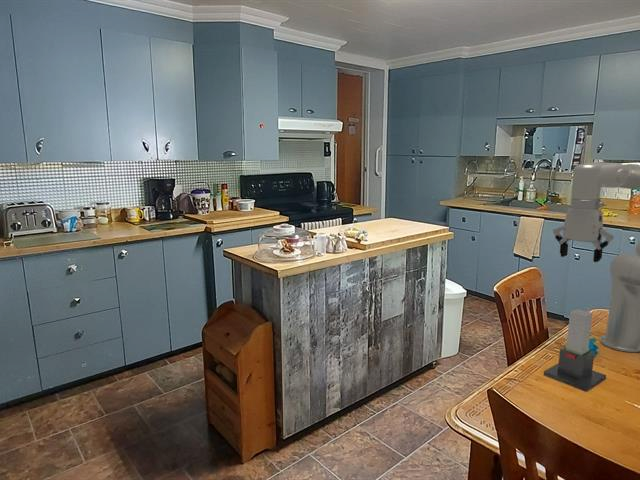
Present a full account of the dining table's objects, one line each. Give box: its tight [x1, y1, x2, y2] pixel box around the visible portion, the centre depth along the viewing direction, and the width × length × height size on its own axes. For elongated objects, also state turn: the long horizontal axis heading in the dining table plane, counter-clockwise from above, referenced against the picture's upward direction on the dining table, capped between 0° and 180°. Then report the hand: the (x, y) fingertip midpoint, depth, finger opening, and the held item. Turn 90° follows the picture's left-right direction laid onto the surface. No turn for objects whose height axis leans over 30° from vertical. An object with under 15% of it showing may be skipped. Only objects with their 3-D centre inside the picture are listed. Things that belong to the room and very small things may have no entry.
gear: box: [589, 333, 600, 357], centre depth 147 cm, size 11×6×10 cm
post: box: [565, 308, 593, 356], centre depth 127 cm, size 4×4×14 cm
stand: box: [543, 346, 607, 393], centre depth 129 cm, size 12×12×8 cm
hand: (579, 258), depth 139 cm, fingers open, 9 cm apart
